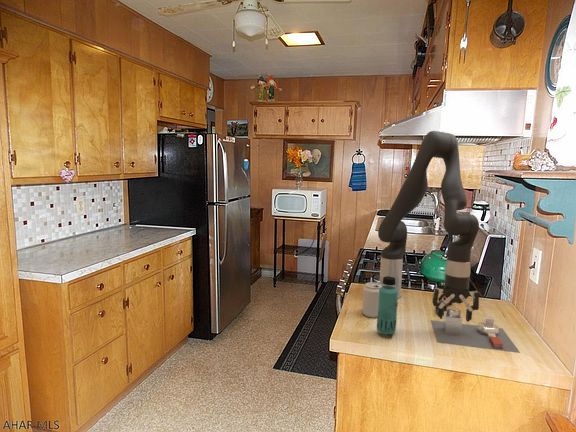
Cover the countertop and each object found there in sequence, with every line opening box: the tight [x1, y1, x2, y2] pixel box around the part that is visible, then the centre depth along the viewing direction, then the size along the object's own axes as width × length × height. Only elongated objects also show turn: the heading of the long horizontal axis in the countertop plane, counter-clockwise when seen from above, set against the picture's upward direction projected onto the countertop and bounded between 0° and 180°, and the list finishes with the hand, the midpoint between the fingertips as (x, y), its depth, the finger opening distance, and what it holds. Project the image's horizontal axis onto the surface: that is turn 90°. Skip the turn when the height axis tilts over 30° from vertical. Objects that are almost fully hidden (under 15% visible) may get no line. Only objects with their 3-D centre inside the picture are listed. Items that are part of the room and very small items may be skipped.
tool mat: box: [429, 319, 521, 354], centre depth 127 cm, size 24×18×1 cm
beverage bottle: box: [376, 276, 399, 335], centre depth 127 cm, size 6×7×20 cm
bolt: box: [434, 293, 453, 317], centre depth 150 cm, size 6×5×15 cm
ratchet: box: [477, 315, 503, 349], centre depth 125 cm, size 6×15×5 cm, turn 166°
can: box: [361, 282, 382, 319], centre depth 144 cm, size 8×8×12 cm
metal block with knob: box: [442, 306, 464, 336], centre depth 129 cm, size 5×5×8 cm
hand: (453, 319), depth 129 cm, fingers open, 8 cm apart
